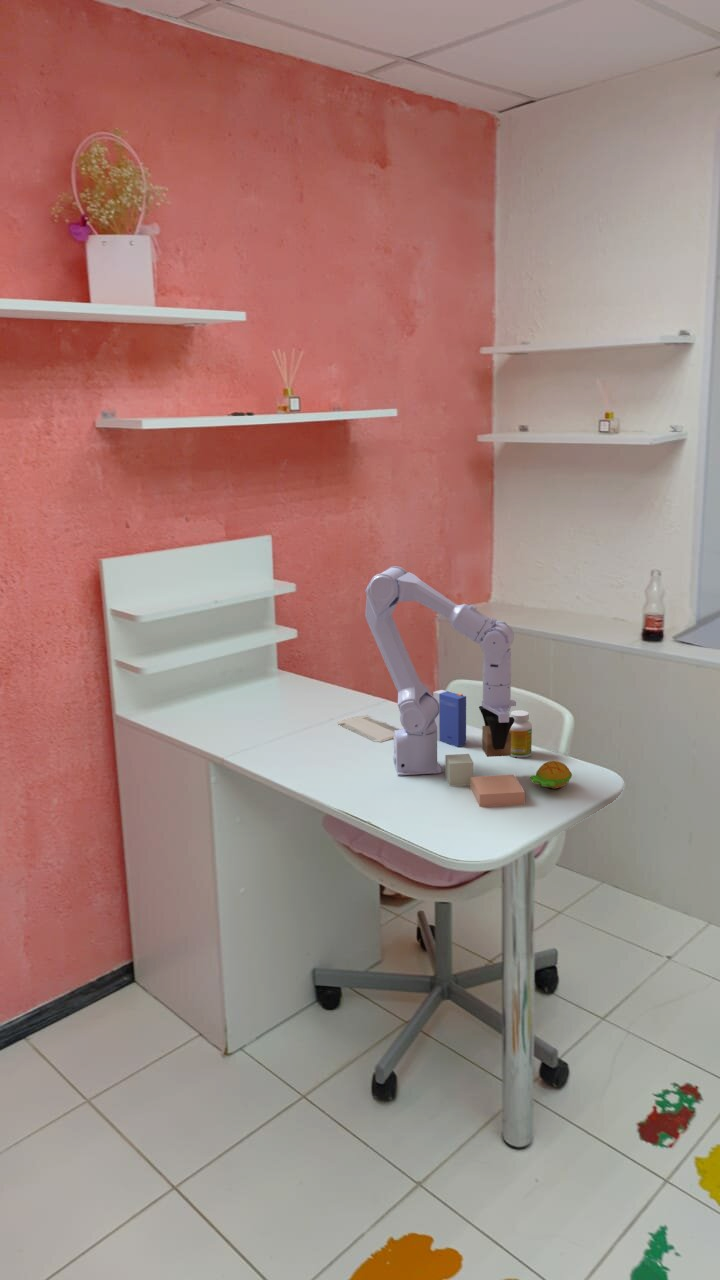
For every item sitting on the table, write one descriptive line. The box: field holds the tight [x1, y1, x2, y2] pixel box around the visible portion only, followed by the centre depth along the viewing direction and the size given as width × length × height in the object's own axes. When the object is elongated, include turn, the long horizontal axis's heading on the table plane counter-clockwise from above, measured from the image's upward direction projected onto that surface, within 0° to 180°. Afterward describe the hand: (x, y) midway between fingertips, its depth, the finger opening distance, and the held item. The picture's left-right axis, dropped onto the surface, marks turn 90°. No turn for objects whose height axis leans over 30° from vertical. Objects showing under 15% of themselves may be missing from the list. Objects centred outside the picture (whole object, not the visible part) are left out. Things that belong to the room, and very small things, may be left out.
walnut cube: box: [481, 725, 512, 758], centre depth 202 cm, size 5×5×5 cm
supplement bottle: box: [510, 709, 533, 759], centre depth 215 cm, size 5×5×10 cm
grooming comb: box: [336, 714, 402, 743], centre depth 235 cm, size 18×10×1 cm, turn 36°
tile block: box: [469, 774, 526, 808], centre depth 194 cm, size 9×9×3 cm
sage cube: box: [444, 753, 474, 787], centre depth 202 cm, size 5×5×5 cm
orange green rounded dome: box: [529, 760, 573, 789], centre depth 196 cm, size 7×10×5 cm
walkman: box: [432, 689, 467, 748], centre depth 223 cm, size 8×3×12 cm, turn 43°
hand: (495, 744), depth 202 cm, fingers closed on walnut cube, 5 cm apart
